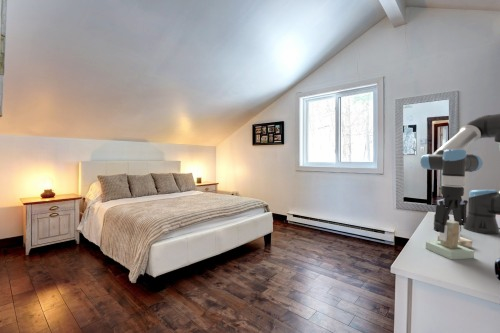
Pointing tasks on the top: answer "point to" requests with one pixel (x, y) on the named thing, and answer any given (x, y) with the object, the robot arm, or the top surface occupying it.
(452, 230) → the box
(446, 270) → the top surface
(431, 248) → the socket
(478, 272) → the top surface
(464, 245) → the stand
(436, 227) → the supplement bottle
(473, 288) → the top surface
